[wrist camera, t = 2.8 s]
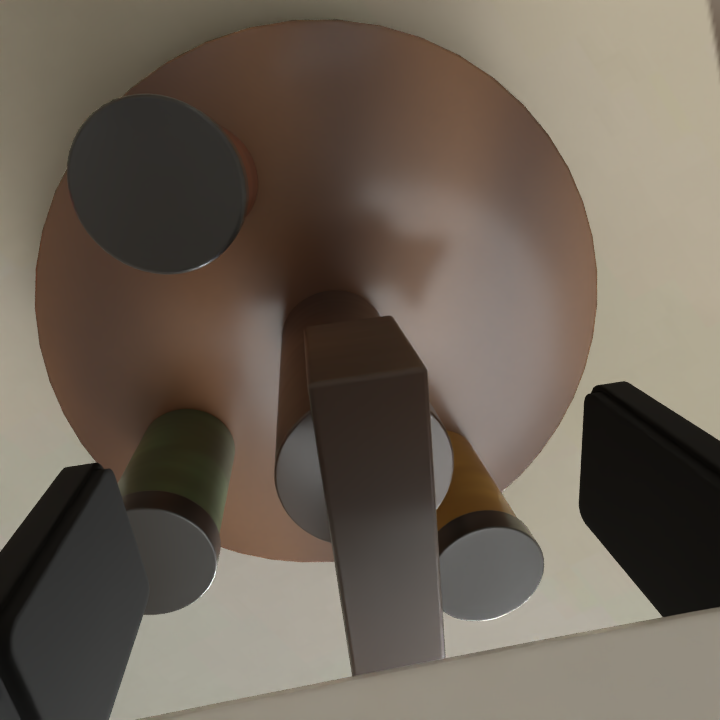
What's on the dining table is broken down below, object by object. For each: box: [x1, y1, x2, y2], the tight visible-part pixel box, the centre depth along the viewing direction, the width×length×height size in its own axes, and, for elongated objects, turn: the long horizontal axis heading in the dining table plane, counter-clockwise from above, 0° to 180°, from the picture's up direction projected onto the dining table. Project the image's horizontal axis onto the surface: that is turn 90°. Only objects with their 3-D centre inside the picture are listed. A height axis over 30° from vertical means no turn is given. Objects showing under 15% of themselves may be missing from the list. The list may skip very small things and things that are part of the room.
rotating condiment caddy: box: [35, 19, 597, 676], centre depth 13 cm, size 19×19×12 cm
